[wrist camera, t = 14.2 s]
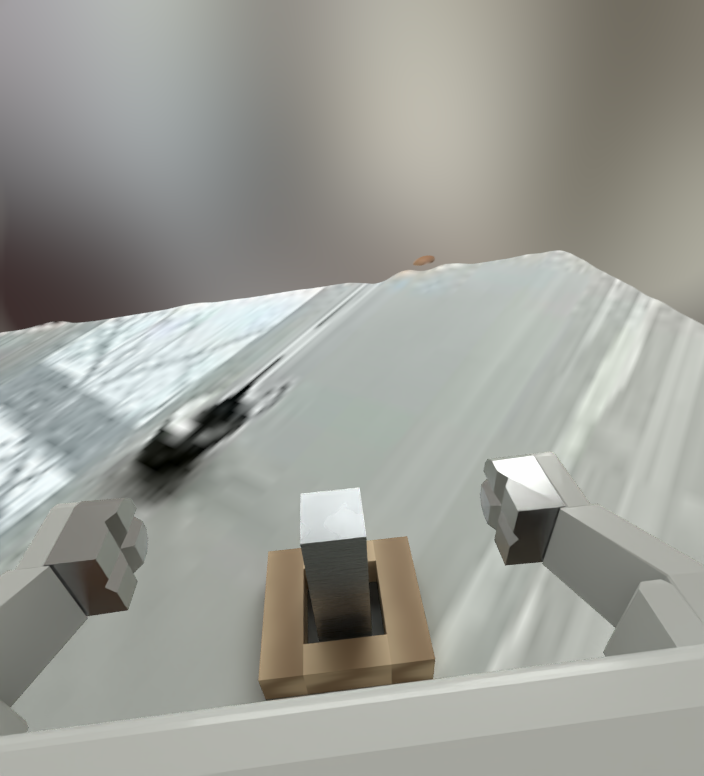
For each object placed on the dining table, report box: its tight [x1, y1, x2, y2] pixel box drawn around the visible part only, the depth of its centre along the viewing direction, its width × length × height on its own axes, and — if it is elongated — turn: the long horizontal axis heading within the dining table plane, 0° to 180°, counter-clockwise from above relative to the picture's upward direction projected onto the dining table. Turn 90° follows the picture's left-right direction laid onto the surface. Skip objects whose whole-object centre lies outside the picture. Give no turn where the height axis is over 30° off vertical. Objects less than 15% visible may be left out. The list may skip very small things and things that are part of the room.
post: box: [300, 488, 372, 642], centre depth 32 cm, size 4×4×13 cm
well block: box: [258, 536, 435, 700], centre depth 35 cm, size 12×10×3 cm
